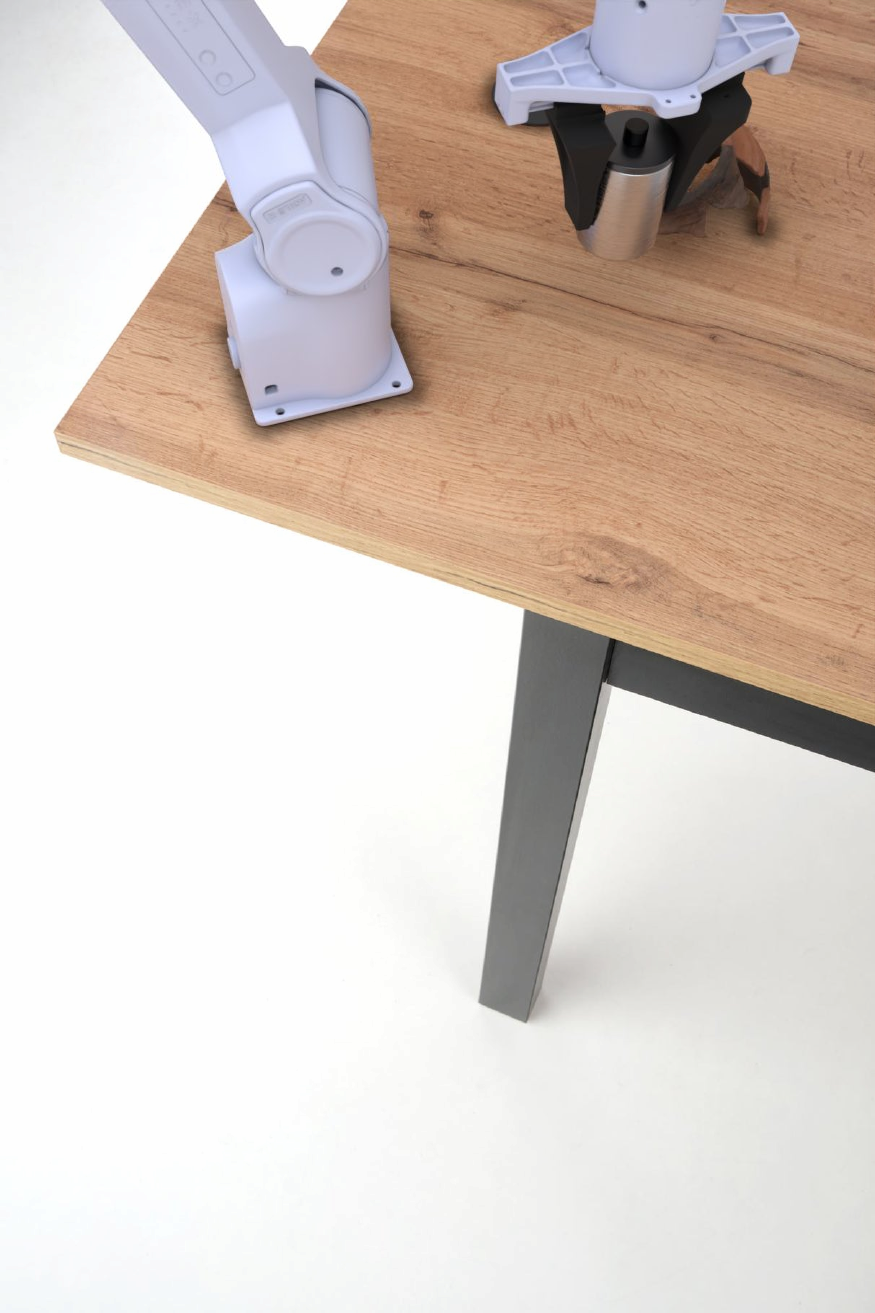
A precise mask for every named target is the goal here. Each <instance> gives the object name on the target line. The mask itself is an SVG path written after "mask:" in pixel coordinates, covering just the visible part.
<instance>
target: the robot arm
mask: <svg viewBox="0 0 875 1313" xmlns="http://www.w3.org/2000/svg"><path fill="white" fill-rule="evenodd" d="M99 1H100V2H101V3H102V5H103V6H104V7H105V8H106V9H107V11H108V12H109V14H110V15H111V16H112V17H113V19H114V20H115V21H116V22H117V23H118V25H119V26H120V27H121V28H122V29H123V31H124V32H125V33H126V34H127V35H128V37H129V38H130V40H132V41H133V43H134V44H135V46H136V47H137V48H138V49H139V50H140V52H141V53H142V54H143V55H144V56H145V58H146V59H147V60H148V62H150V64H151V65H152V66H153V68H154V69H155V70H156V72H158V74H159V75H160V76H161V78H162V79H163V80H164V82H166V84H167V85H168V86H169V87H170V89H171V90H172V91H173V93H174V94H175V95H176V96H177V97H178V99H179V100H180V101H181V102H182V104H183V105H184V106H185V108H187V110H188V111H189V112H190V114H192V116H193V117H194V118H195V120H196V121H197V122H198V123H199V125H200V127H202V129H203V130H204V131H205V132H206V133H207V135H208V136H209V138H210V140H211V142H212V145H213V147H214V150H215V153H216V155H217V158H218V161H219V164H220V167H221V169H222V172H223V175H224V178H225V180H226V183H227V186H228V189H229V192H230V194H231V197H232V200H233V202H234V205H235V207H236V209H237V211H238V213H239V214H240V215H241V217H243V219H244V220H245V221H246V222H247V224H248V225H249V226H250V228H251V229H252V233H250V234H249V235H247V236H246V237H245V238H244V239H243V238H242V240H240V241H238V242H236V243H233V244H232V245H230V246H228V247H225V248H223V249H220V250H217V251H215V252H214V263H215V268H216V274H217V279H218V284H219V285H218V286H219V290H220V295H221V300H222V304H223V310H224V315H225V321H226V325H227V328H226V329H227V335H228V337H227V338H226V343H227V346H228V347H227V348H228V351H229V354H230V359H231V362H232V365H233V368H234V369H235V370H239V374H240V376H241V379H242V382H243V385H244V389H245V393H246V395H247V399H248V402H249V405H250V409H251V411H252V415H253V417H254V421H255V423H256V424H257V425H258V426H261V427H267V426H272V425H275V424H280V423H284V422H289V421H293V420H298V419H301V418H306V417H310V416H314V415H319V414H323V413H327V412H332V411H335V410H341V409H345V408H348V407H353V406H357V405H361V404H364V403H370V402H374V401H377V400H381V399H386V398H390V397H394V396H398V395H403V394H407V393H410V392H412V390H413V388H414V381H413V379H412V376H411V373H410V370H409V369H408V366H407V363H406V360H405V358H404V356H403V353H402V350H401V348H400V346H399V343H398V341H397V338H396V336H395V333H394V331H393V329H392V328H393V327H392V317H391V316H392V314H391V272H390V268H391V267H390V265H391V264H390V232H389V226H388V223H387V221H386V219H385V217H384V215H383V213H382V212H381V210H380V203H379V196H378V195H379V194H378V187H377V182H376V173H375V165H374V158H373V151H372V136H373V127H372V120H371V116H370V113H369V111H368V108H367V107H366V105H365V103H364V102H363V99H361V97H360V96H359V95H358V94H357V93H356V92H355V91H354V90H353V89H351V88H350V87H349V86H347V85H345V84H343V83H342V82H340V81H338V80H336V79H335V78H333V77H331V76H330V75H328V74H327V73H326V72H324V71H323V70H322V69H321V68H320V67H319V65H318V64H317V63H316V62H315V60H314V59H313V58H312V56H311V54H310V53H309V50H307V49H306V48H305V47H304V46H301V45H285V43H284V42H283V40H282V39H281V38H280V36H279V34H278V33H277V31H276V29H275V28H274V27H273V26H272V24H271V22H270V21H269V19H268V18H267V17H266V15H265V14H264V12H263V11H262V9H261V8H260V6H259V5H258V4H257V2H256V1H255V0H99ZM726 5H727V0H595V5H594V6H595V7H594V13H593V21H592V24H590V25H588V26H586V27H584V28H582V29H579V30H578V31H575V32H574V33H572V34H570V35H568V36H565V37H563V38H561V39H559V40H557V41H555V42H553V43H551V44H549V45H547V46H545V47H542V48H541V49H538V50H537V51H534V52H532V53H530V54H527V55H525V56H523V57H518V58H516V59H513V60H509V61H504V62H499V63H497V64H496V76H495V81H496V88H495V102H496V104H497V106H498V108H499V110H500V112H501V113H500V112H499V113H500V114H501V116H502V118H503V120H504V122H505V124H506V125H507V126H508V127H511V126H517V125H523V124H522V123H525V122H527V121H528V116H529V112H534V111H539V110H544V112H545V114H546V117H547V120H548V122H549V125H548V126H549V128H550V131H551V134H552V137H553V141H554V144H555V147H556V151H557V155H558V161H559V165H560V171H561V177H562V185H563V194H564V195H563V197H564V198H563V199H564V209H565V211H566V213H567V215H568V217H569V219H570V221H571V223H572V225H573V227H574V229H575V231H576V230H577V231H582V230H586V229H589V228H590V226H591V224H592V221H593V218H594V213H595V207H596V201H597V194H598V188H599V184H600V181H601V178H602V175H603V172H604V169H605V167H606V164H607V162H608V160H609V158H610V156H611V154H612V152H613V150H614V149H615V147H616V146H617V143H616V141H615V140H614V138H613V136H612V134H611V132H610V131H609V129H608V127H607V125H606V123H605V116H606V115H607V111H606V110H604V108H603V106H602V105H612V106H631V107H648V108H652V109H653V111H654V112H655V113H656V114H657V115H658V116H660V117H662V119H663V120H665V121H666V122H667V123H669V124H670V126H671V127H672V128H673V129H674V131H675V133H676V135H677V138H678V148H677V152H676V156H675V160H674V165H673V169H672V173H671V177H670V181H669V186H668V190H667V194H666V198H665V203H664V207H663V211H664V213H668V212H673V211H675V210H676V209H677V207H678V205H679V204H680V202H681V200H682V199H683V197H684V195H685V193H686V192H688V191H689V188H690V187H691V185H692V183H693V182H694V180H695V179H696V177H697V176H698V175H699V173H700V171H701V170H702V168H703V167H704V165H705V164H707V163H706V161H707V160H708V159H709V157H710V156H711V155H712V154H713V153H714V151H715V150H716V149H717V148H718V147H719V146H720V145H721V144H722V143H723V142H724V141H725V140H726V139H727V138H728V137H729V136H730V135H731V134H732V133H733V132H735V131H736V130H737V129H738V128H740V127H741V126H742V125H743V124H744V125H745V124H746V123H747V121H748V119H749V116H750V112H751V109H752V105H753V100H752V97H751V96H750V94H749V92H748V91H747V89H746V87H745V86H744V85H743V84H744V79H745V75H746V72H750V71H755V70H759V69H760V70H761V69H764V70H765V72H766V73H767V74H768V75H770V76H779V75H782V74H783V75H784V74H788V73H790V71H791V68H792V65H793V61H794V59H795V56H796V53H797V49H798V46H799V43H800V39H801V35H800V34H799V32H798V31H797V28H796V27H795V26H794V25H793V24H792V22H791V20H790V19H789V18H788V17H787V15H786V14H785V12H784V11H779V12H770V13H755V14H753V13H751V14H750V13H749V14H747V13H744V14H743V13H728V12H727V13H725V8H726ZM395 386H398V387H395ZM280 413H281V414H280Z"/></svg>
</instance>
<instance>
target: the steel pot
mask: <svg viewBox="0 0 875 1313" xmlns="http://www.w3.org/2000/svg"><path fill="white" fill-rule="evenodd" d="M605 123H606V125H607V127H608V129H609V131H610V132H611V134H612V136H613V138H614V140H615V141H616V143H617V146H616V147H615V149H614V150H613V152H612V154H611V156H610V158H609V160H608V162H607V164H606V167H605V169H604V172H603V175H602V178H601V181H600V184H599V188H598V194H597V201H596V207H595V213H594V218H593V221H592V224H591V226H590V228H589V229H586V230H582V231H577V230H576V229H575V233H576V236H577V240H578V241H579V243H580V244H581V246H582V247H583V248H584V249H585V250H586V251H587V252H589V253H590V254H591V255H593V256H596V257H598V258H601V259H604V260H607V261H612V262H626V261H631V260H632V261H633V260H636V259H638V258H640V257H642V256H644V255H645V254H647V253H648V252H649V251H651V249H652V248H653V247H654V245H655V243H656V240H657V237H658V234H657V232H658V228H659V224H660V219H661V215H662V211H663V207H664V203H665V198H666V194H667V190H668V186H669V181H670V177H671V173H672V169H673V165H674V160H675V156H676V152H677V148H678V138H677V135H676V133H675V131H674V129H673V128H672V127H671V126H670V124H669V123H667V122H666V121H665V120H663V119H662V118H660V117H658V116H656V115H654V113H651V112H648V111H644V110H639V109H621V110H616V111H613V112H610V113H606V116H605Z"/></svg>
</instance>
